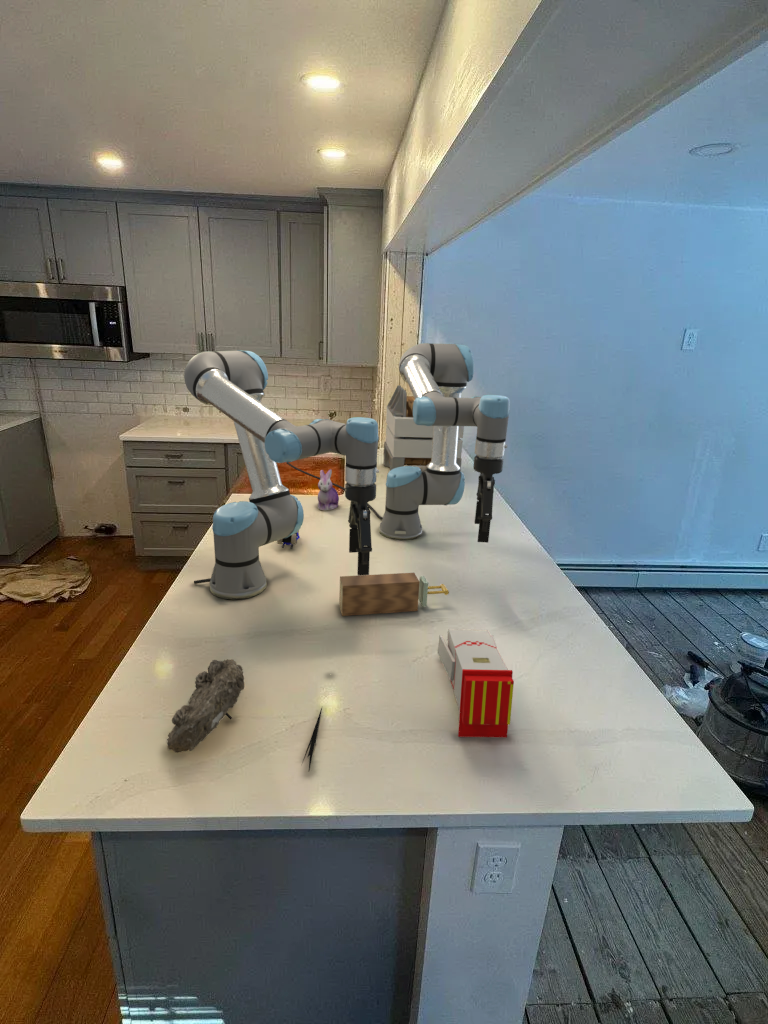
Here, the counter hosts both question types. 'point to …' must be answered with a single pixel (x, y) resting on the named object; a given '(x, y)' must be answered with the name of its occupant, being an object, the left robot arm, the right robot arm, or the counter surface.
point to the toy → (478, 682)
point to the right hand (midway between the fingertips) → (481, 532)
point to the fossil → (206, 705)
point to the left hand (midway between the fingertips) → (358, 562)
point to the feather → (313, 740)
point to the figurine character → (289, 540)
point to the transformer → (409, 435)
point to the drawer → (424, 591)
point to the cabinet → (378, 594)
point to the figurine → (327, 492)
